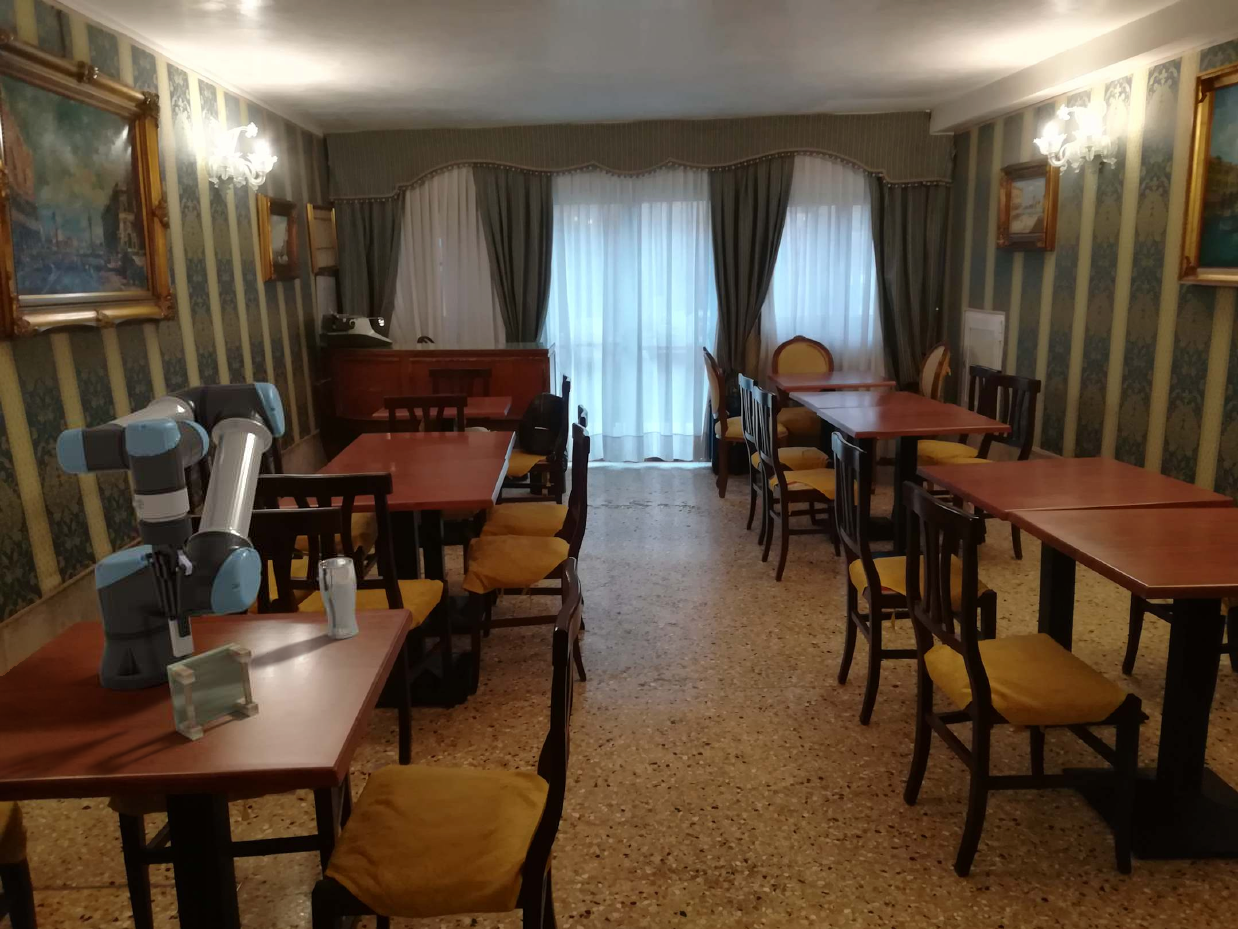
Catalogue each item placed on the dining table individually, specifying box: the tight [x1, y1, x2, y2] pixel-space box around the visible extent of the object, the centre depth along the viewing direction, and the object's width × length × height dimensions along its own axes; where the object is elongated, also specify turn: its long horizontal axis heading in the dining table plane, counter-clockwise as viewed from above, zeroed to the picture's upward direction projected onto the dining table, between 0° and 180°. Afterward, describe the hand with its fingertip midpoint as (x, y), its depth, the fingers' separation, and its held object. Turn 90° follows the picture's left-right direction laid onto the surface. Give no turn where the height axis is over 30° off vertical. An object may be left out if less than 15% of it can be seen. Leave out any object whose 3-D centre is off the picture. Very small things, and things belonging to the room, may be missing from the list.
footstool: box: [167, 642, 260, 741], centre depth 143 cm, size 6×11×11 cm, turn 142°
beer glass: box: [318, 557, 360, 640], centre depth 177 cm, size 7×7×15 cm
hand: (184, 653), depth 147 cm, fingers closed
